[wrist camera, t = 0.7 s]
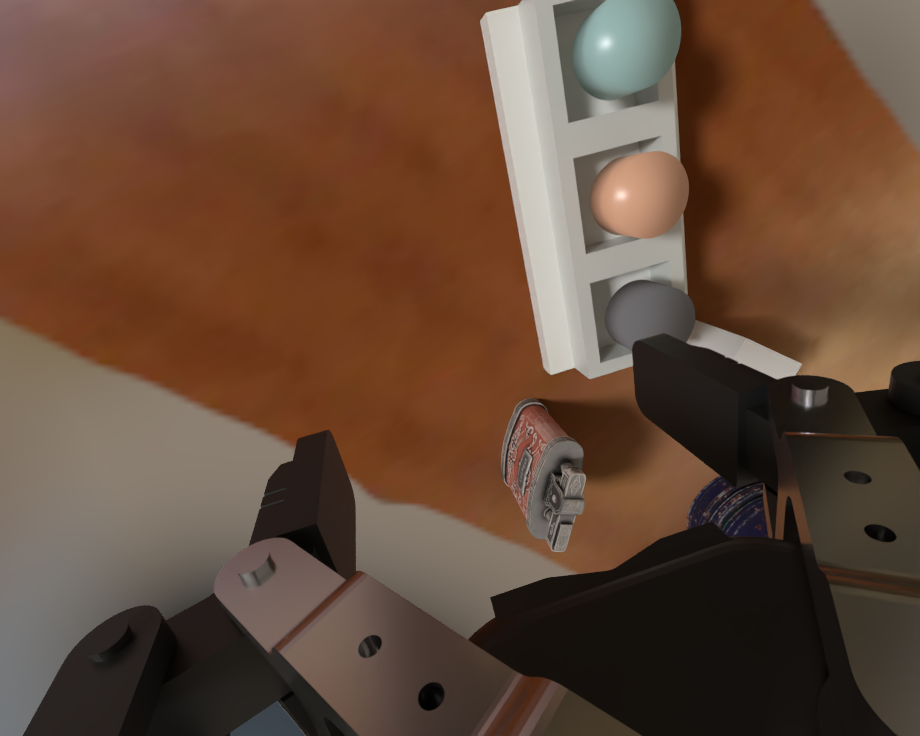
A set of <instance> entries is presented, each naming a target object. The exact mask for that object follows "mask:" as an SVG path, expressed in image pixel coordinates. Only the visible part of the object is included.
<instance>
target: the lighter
mask: <svg viewBox="0 0 920 736" xmlns="http://www.w3.org/2000/svg"><path fill="white" fill-rule="evenodd" d="M583 456H584V453H583V449H582V447H581V446H580V445H579V444H578V442H577V441H576V440H574V439H573V438H571V437H569V436H568V435H567V434H566V433H565V432H564V431H563V429H562V428H561V427H560V426H559V425H558V424H557V423H556V422H555V420H554V419H553V418H552V417H551V416H550V415H549V414H548V410H547V408H546V407H545V406H544V405H543V404H542V402H540V401H539V400H537V399H533V398H532V399H525V400H523V401H521V402H520V403H518V405H517V406H516V408H515V410H514V413H513V415H512V417H511V420H510V422H509V424H508V428H507V431H506V435H505V438H504V442H503V449H502V456H501V475H502V478H503V480H504V482H505V483H506V485H507V486H509V487H510V489H511V491H512V492H513V494H514V496H515V498H516V500H517V502H518V504H519V506H520V508H521V510H522V512H523V513H524V515H525V517H526V519H527V527H528V529H529V531H530V533H531V534H532V535H533V536H534V537H535V538H537V539H542V540H545V539H546V541H547V543H548V544H549V546H550V548H551V550H552V551H555V552H563V551H565V550H566V547H567V545H568V541H569V538H570V534H571V531H572V527H573V524H574V520H575V517H576V515H581V514H582V513H583V510H584V507H585V502H584V498H583V489H584V485H585V482H586V476H585V474H584V473H583V472H582V468H583Z"/></svg>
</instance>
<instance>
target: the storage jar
mask: <svg viewBox="0 0 920 736" xmlns="http://www.w3.org/2000/svg"><path fill="white" fill-rule="evenodd" d="M711 521H712V522H713V523H714V524H715V525H716V526H717V527H718V528H720V529H721V530H722V531H723V532H724V533H725V534H726V535H727V536H728V537H734V536H754V537H767V538H769V537H768V530H767V523H766V516H765V509H764V502H763V482H762V481H760V480H759V481H756V482H753V483H750V484H748V485H745V486H742V487H739V488H736V487H734V486H733V485H732V484H731V483H729V482H728V481H727V480H726V479H724V478H723V477H722V476H719V477H717V478H715V479H714V480H712V481H711V482H710V483H709V484H707V485H706V486H705V487H704V488H703V489H702V490H701V491H700V492H699V494H698V495H697V497H696V498H695V500H694V501H693V503H692V505H691V507H690V510H689V513H688V517H687V530H688V529H690V528H693V527H696V526H699V525H702V524H705V523H708V522H711Z"/></svg>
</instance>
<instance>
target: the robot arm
mask: <svg viewBox="0 0 920 736" xmlns="http://www.w3.org/2000/svg"><path fill="white" fill-rule="evenodd" d="M632 358H633V371H634V384H635V396H636V400H637V404H638V406H639V408H640V410H641V412H642V413H643V414H644V416H645V417H647V418H648V419H649V420H650V421H652V422H653V423H654V424H655V425H657V426H658V427H659V428H661V429H662V430H663V431H664V432H666V433H667V434H668V435H669V436H671V437H672V438H673V439H675V440H676V441H677V442H678V443H680V444H681V445H682V446H683V447H685V448H686V449H687V450H689V451H690V452H691V453H692V454H694V455H695V456H696V457H697V458H699V459H700V460H701V461H703V462H704V463H705V464H706V465H708V466H709V467H710V468H711V469H713V470H714V471H715V472H717V473H718V474H719V475H720V476H722V477H723V478H724V479H726V480H727V481H728V482H729V483H731V484H732V485H733V486H734V487H736V488H739V487H742V486H745V485H748V484H750V483H753V482H756V481H759V480H760V481H762V482H763V502H764V509H765V516H766V523H767V530H768V537H769V538H767V537H754V536H734V537H728V536H727V535H726V534H725V533H724V532H723V531H722V530H721V529H720V528H718V527H717V526H716V525H715V524H714V523H713V522H712V521H711V522H708V523H705V524H702V525H699V526H696V527H693V528H690V529H688V530H685V531H682V532H679V533H676V534H673V535H670V536H667V537H664V538H661V539H659V540H658V541H656V542H654V543H653V544H651V545H650V546H648V547H647V548H645V549H644V550H642V551H641V552H639V553H638V554H636V555H635V556H633V557H632V558H630V559H629V560H627V561H626V562H624V563H623V564H621V565H620V566H618V567H616V568H615V569H612V570H609V571H602V572H594V573H585V574H576V575H568V576H559V577H550V578H546V579H542V580H539V581H537V582H534V583H531V584H528V585H525V586H522V587H519V588H516V589H513V590H510V591H508V592H505V593H502V594H499V595H496V596H493V597H491V602H492V605H493V610H494V613H495V618H493V619H492V620H490V621H489V622H488V623H486V624H485V625H484V626H482V627H481V628H480V629H479V630H477V631H476V632H475V633H474V634H473V635H472V636H471V637H470V638H469V639H468V640H467V639H466V638H464V637H463V636H461V635H459V634H458V633H456V632H455V631H453V630H452V629H450V628H449V627H447V626H446V625H444V624H443V623H441V622H440V621H438V620H437V619H435V618H434V617H432V616H431V615H429V614H427V613H426V612H424V611H423V610H421V609H420V608H418V607H417V606H415V605H414V604H412V603H411V602H409V601H408V600H406V599H405V598H403V597H401V596H400V595H399V594H397V593H395V592H394V591H392V590H391V589H389V588H388V587H386V586H385V585H383V584H382V583H380V582H379V581H377V580H376V579H374V578H373V577H371V576H370V575H368V574H366V573H364V572H362V571H356V540H355V539H356V537H355V536H356V534H355V533H356V527H355V526H356V524H355V523H356V521H355V520H356V518H355V517H356V515H355V499H354V494H353V489H352V486H351V483H350V480H349V477H348V475H347V472H346V469H345V467H344V464H343V461H342V459H341V456H340V453H339V451H338V448H337V445H336V443H335V440H334V437H333V435H332V433H331V432H330V431H329V430H326V431H322V432H319V433H316V434H312V435H309V436H305V437H302V438H299V439H298V440H297V444H296V449H295V453H294V458H293V461H291V462H287V463H284V464H281V465H280V466H279V467H278V468H277V470H276V471H275V472H274V473H273V475H272V476H271V477H270V479H269V480H268V483H267V486H266V489H265V493H264V495H265V497H263V500H262V503H261V509H260V510H259V514H258V517H257V520H256V523H255V527H254V530H253V534H252V537H251V540H250V544H249V546H248V547H247V548H245V549H243V550H242V551H240V552H239V553H238V554H236V555H235V556H234V557H233V558H231V559H230V560H229V561H228V562H227V563H226V564H225V566H224V567H223V568H222V569H221V571H220V572H219V574H218V576H217V578H216V580H215V584H214V592H215V593H213V594H212V595H211V596H209V597H207V598H206V599H204V600H202V601H200V602H199V603H197V604H195V605H193V606H191V607H190V608H188V609H186V610H184V611H182V612H180V613H179V614H177V615H175V616H173V617H171V618H170V619H168V620H165V619H164V617H163V616H162V614H161V613H160V612H159V610H158V609H157V608H155V607H153V606H138V607H134V608H130V609H128V610H125V611H123V612H121V613H118V614H117V615H114V616H113V617H111V618H109V619H108V620H106V621H104V622H103V623H101V624H100V625H99V626H97V627H96V628H95V629H93V630H92V631H91V632H90V633H88V634H87V635H86V636H85V637H84V638H83V639H82V640H81V641H80V642H79V643H78V644H77V645H76V646H75V647H74V648H73V650H72V651H71V652H70V653H69V655H68V656H67V658H66V659H65V661H64V663H63V664H62V666H61V668H60V670H59V671H58V673H57V675H56V677H55V679H54V681H53V682H52V684H51V686H50V688H49V690H48V691H47V693H46V695H45V697H44V698H43V700H42V702H41V704H40V706H39V707H38V709H37V711H36V713H35V715H34V716H33V718H32V720H31V722H30V724H29V725H28V727H27V729H26V731H25V733H24V734H23V736H230V732H231V731H233V730H234V729H236V728H237V727H239V726H240V725H242V724H243V723H245V722H246V721H248V720H249V719H251V718H252V717H253V716H255V715H257V714H258V713H260V712H261V711H262V710H264V709H266V708H267V707H269V706H270V705H271V704H273V703H274V702H276V701H278V703H279V704H280V705H281V706H282V708H283V709H284V710H285V711H286V712H287V714H288V715H289V716H290V717H291V718H292V719H293V721H294V722H295V723H296V724H297V725H298V727H299V728H300V729H301V730H302V731H303V733H304V734H305V735H306V736H920V361H913V362H907V363H903V364H900V365H898V366H896V367H894V368H893V369H892V372H891V378H890V384H889V389H883V390H874V391H865V392H856V393H855V392H854V391H853V389H852V388H850V387H849V386H848V385H846V384H844V383H842V382H840V381H837V380H834V379H830V378H826V377H820V376H811V375H797V376H789V377H784V378H780V379H778V380H777V379H775V378H773V377H771V376H768V375H766V374H764V373H762V372H760V371H757V370H755V369H753V368H751V367H749V366H746V365H744V364H742V363H740V364H738V361H735V360H733V359H731V358H729V357H727V358H725V356H724V355H722V354H720V353H718V352H715V351H713V350H711V349H709V348H704V347H698V346H693V345H690V344H687V343H685V342H683V341H681V340H679V339H677V338H675V337H672V336H670V335H668V334H666V333H661V334H657V335H654V336H651V337H647V338H644V339H640V340H637V341H635V342H634V344H633V347H632Z"/></svg>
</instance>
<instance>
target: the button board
mask: <svg viewBox="0 0 920 736" xmlns="http://www.w3.org/2000/svg"><path fill="white" fill-rule="evenodd" d="M605 1H606V0H522V1H521V2H520V4H519V5H518V6H513V7H509V8H504V9H500V10H495V11H491V12H486V13H485V15H484V16H483V18H482V19H481V21H480V23H481V29H482V34H483V40H484V45H485V51H486V56H487V61H488V67H489V72H490V78H491V83H492V89H493V94H494V100H495V105H496V111H497V116H498V121H499V127H500V132H501V138H502V143H503V149H504V154H505V160H506V165H507V170H508V176H509V181H510V187H511V192H512V198H513V203H514V209H515V214H516V219H517V225H518V230H519V236H520V241H521V247H522V252H523V258H524V263H525V268H526V274H527V279H528V285H529V290H530V296H531V301H532V307H533V312H534V317H535V323H536V328H537V334H538V339H539V345H540V350H541V356H542V361H543V366H544V369H545V370H546V371H547V372H548V373H549V374H550V375H552V374H556V373H559V372H562V371H565V370H569V369H572V368H576V369H577V370H578V371H580V372H581V373H582V374H583V375H585V376H586V377H587V378H589V379H592V378H595V377H599V376H602V375H605V374H608V373H611V372H615V371H618V370H621V369H624V368H627V367H631V366H633V358H632V351H631V350H629V349H628V348H626V347H624V346H622V345H620V344H618V343H617V342H615V341H614V340H613V339H612V338H611V337H610V335H609V333H608V331H607V329H606V324H605V314H606V309H607V306H608V304H609V301H610V300H611V298H612V296H613V295H614V294H615V293H616V292H617V290H619V289H620V288H621V287H622V286H624V285H625V284H627V283H629V282H632V281H635V280H649V281H652V282H656V283H660V284H663V285H667V286H670V287H674V288H677V289H680V290H682V291H683V292H685V293H686V294H687V295H688V291H687V272H686V254H685V236H684V218H683V214H682V216H681V217H680V219H679V220H678V222H677V223H676V224H675V225H674V226H673V227H672V228H671V229H670V230H669V231H667V232H666V233H664V234H662V235H660V236H657V237H654V238H648V239H644V238H635V237H628V236H621V235H614V234H611V233H608V232H606V231H605V230H603V229H602V228H601V227H600V226H599V225H598V224H597V222H596V221H595V219H594V217H593V214H592V211H591V205H590V195H591V190H592V186H593V183H594V181H595V179H596V177H597V175H598V174H599V172H600V171H601V170H602V169H603V167H604V166H606V165H607V164H608V163H609V162H611V161H612V160H614V159H616V158H619V157H622V156H628V155H634V154H640V153H646V152H652V151H662V152H666V153H669V154H671V155H673V156H674V157H675V158H677V159H678V160H679V161H680V145H679V127H678V109H677V90H676V72H675V61H674V63H673V65H672V66H671V68H670V69H669V71H668V72H667V73H666V75H665V76H664V77H663V78H662V79H661V80H659V81H658V82H657V83H655V84H654V85H652V86H650V87H648V88H645V89H643V90H640V91H637V92H635V93H632V94H630V95H627V96H625V97H622V98H619V99H616V100H611V101H605V100H600V99H597V98H595V97H593V96H591V95H590V94H588V93H587V92H586V91H585V90H584V89H583V87H582V86H581V85H580V83H579V81H578V79H577V77H576V75H575V72H574V68H573V61H572V50H573V43H574V39H575V36H576V33H577V31H578V29H579V27H580V25H581V23H582V22H583V20H584V19H585V18H586V17H587V16H588V15H589V14H590V13H591V12H592V11H593V10H595V9H596V8H597V7H598V6H600V5H601V4H602V3H603V2H605ZM686 343H687V344H688V340H687V342H686Z"/></svg>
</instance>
